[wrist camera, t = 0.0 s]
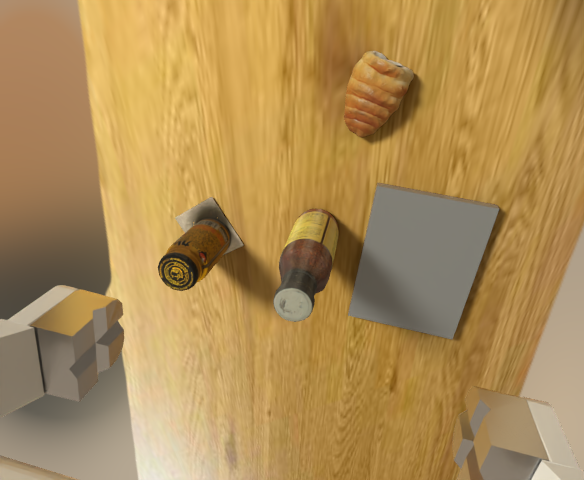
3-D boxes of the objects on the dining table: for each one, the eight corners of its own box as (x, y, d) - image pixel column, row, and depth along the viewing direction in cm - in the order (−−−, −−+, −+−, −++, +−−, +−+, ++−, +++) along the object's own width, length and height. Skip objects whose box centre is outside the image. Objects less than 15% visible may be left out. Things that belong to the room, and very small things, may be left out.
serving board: (377, 182, 56) (376, 185, 55) (496, 204, 54) (499, 208, 53) (348, 309, 65) (348, 315, 64) (451, 333, 63) (452, 339, 62)
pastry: (380, 143, 55) (379, 149, 51) (331, 121, 55) (327, 126, 52) (417, 68, 50) (418, 70, 47) (364, 45, 51) (361, 45, 47)
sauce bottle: (287, 229, 62) (244, 302, 44) (314, 197, 59) (280, 262, 41) (322, 257, 62) (294, 341, 45) (351, 227, 60) (333, 304, 42)
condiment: (207, 263, 67) (171, 304, 56) (175, 217, 65) (132, 251, 54) (244, 244, 64) (214, 284, 54) (212, 195, 62) (175, 227, 52)
